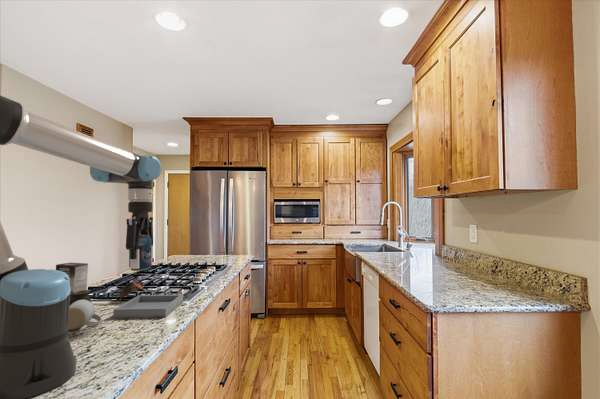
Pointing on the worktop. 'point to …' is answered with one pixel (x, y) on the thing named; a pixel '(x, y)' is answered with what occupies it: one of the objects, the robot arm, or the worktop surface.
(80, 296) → the mate gourd
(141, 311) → the tray
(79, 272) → the coffee box
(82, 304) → the ceramic mug
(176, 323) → the worktop surface
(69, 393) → the worktop surface
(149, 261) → the soda can
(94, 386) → the worktop surface
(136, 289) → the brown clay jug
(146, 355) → the worktop surface
